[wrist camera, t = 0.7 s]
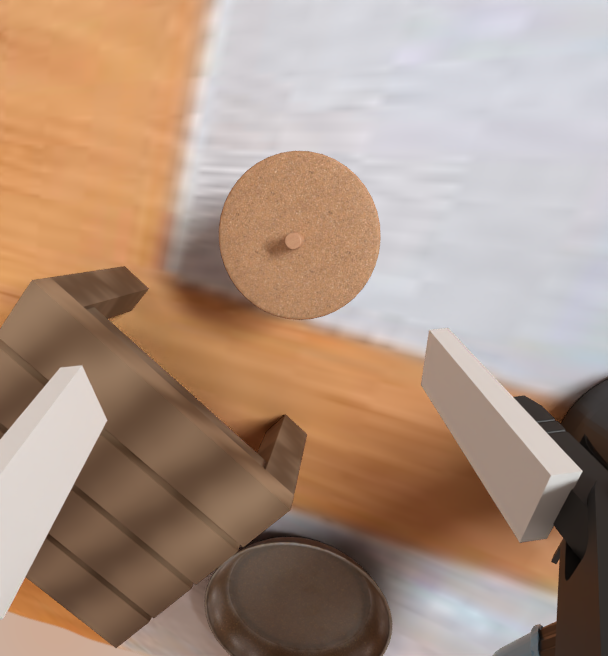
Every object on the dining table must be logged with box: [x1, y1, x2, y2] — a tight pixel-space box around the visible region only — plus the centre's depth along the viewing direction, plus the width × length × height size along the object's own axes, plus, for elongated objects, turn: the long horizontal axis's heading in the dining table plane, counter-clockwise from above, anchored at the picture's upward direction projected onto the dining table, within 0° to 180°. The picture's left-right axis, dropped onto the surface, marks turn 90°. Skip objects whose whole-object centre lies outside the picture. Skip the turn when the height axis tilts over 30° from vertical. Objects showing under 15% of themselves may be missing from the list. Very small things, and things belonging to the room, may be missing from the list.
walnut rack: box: [0, 266, 307, 648], centre depth 33 cm, size 24×24×10 cm
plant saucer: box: [205, 537, 392, 656], centre depth 40 cm, size 21×21×3 cm
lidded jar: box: [219, 151, 380, 320], centre depth 26 cm, size 11×11×9 cm
